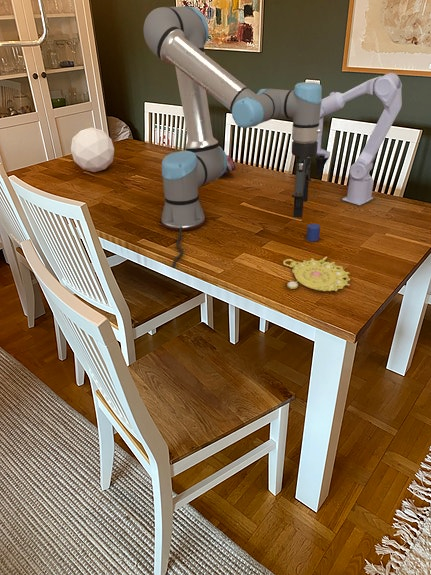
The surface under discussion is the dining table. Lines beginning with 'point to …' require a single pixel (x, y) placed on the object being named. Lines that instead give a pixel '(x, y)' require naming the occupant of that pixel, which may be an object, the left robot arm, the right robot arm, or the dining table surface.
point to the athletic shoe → (229, 165)
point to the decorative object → (318, 275)
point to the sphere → (92, 149)
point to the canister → (313, 232)
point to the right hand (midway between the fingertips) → (310, 172)
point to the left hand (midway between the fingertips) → (300, 208)
